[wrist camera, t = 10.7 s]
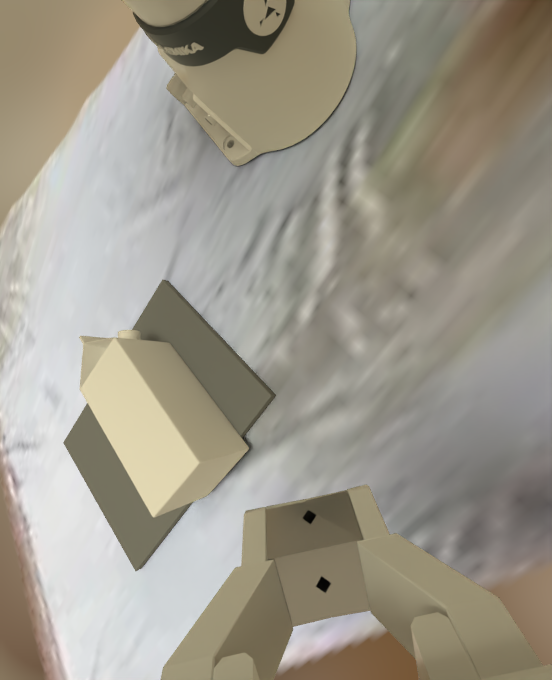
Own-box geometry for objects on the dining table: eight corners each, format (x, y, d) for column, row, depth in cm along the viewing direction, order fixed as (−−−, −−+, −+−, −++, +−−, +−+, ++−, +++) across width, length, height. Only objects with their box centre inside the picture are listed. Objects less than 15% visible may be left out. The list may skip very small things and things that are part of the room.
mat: (69, 441, 52) (63, 442, 51) (167, 280, 45) (162, 279, 44) (141, 568, 44) (135, 571, 43) (275, 395, 37) (271, 395, 36)
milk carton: (153, 520, 33) (63, 362, 40) (208, 497, 39) (121, 363, 47) (200, 464, 30) (96, 309, 38) (251, 449, 37) (152, 318, 45)
